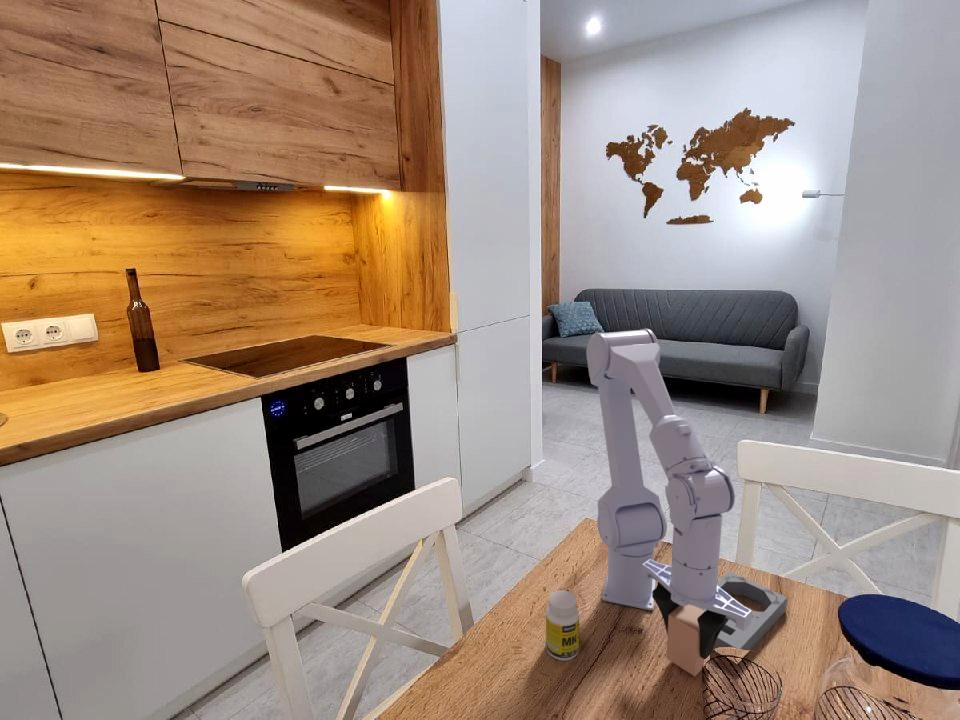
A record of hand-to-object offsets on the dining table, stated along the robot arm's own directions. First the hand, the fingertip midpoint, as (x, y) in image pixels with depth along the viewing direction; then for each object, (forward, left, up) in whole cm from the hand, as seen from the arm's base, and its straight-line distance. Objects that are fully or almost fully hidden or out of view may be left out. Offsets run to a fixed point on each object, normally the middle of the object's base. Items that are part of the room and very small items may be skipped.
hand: (689, 644), depth 72 cm
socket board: (-11, +7, -3) cm, 13 cm away
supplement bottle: (+3, -17, -3) cm, 18 cm away
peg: (0, 0, -2) cm, 2 cm away
